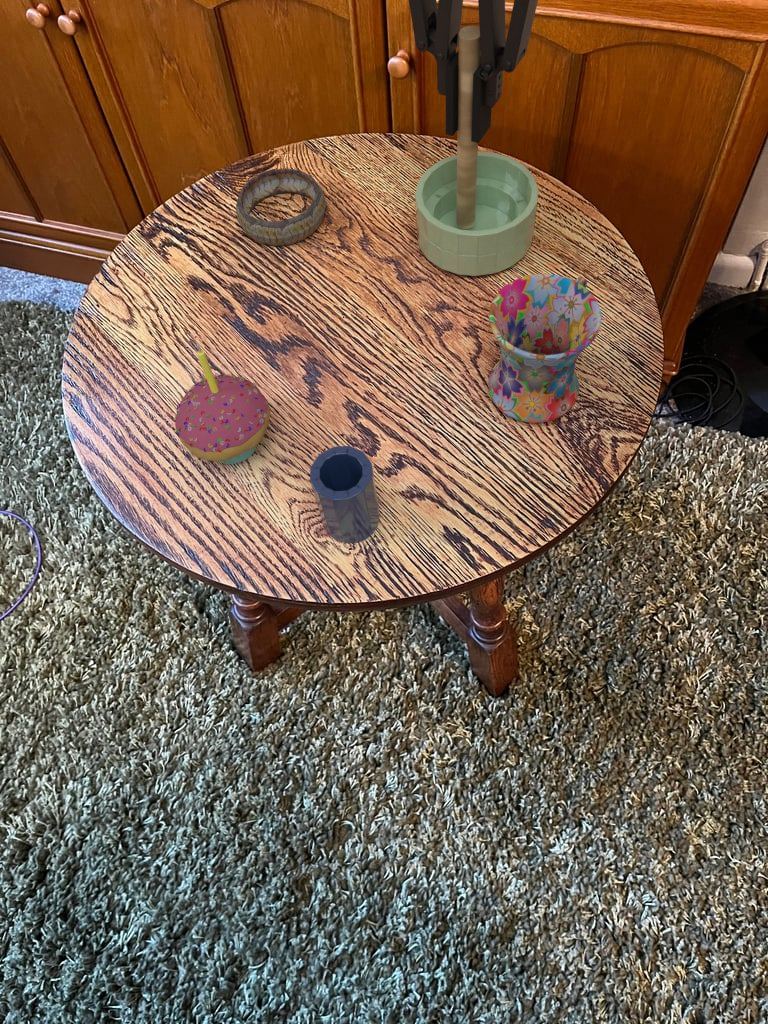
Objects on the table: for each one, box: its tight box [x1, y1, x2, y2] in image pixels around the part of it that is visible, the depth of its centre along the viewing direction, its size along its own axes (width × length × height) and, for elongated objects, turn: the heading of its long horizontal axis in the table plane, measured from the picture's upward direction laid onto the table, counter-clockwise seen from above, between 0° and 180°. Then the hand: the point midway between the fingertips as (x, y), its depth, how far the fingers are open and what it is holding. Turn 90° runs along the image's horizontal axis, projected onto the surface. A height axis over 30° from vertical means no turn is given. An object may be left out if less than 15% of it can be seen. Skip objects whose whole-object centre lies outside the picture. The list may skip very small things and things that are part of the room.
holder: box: [309, 445, 381, 544], centre depth 65 cm, size 5×5×8 cm
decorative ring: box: [235, 167, 327, 247], centre depth 86 cm, size 10×3×10 cm
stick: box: [456, 25, 481, 229], centre depth 74 cm, size 2×2×20 cm
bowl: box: [414, 150, 540, 277], centre depth 81 cm, size 12×12×6 cm
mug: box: [487, 273, 602, 424], centre depth 69 cm, size 12×9×11 cm
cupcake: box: [174, 342, 272, 465], centre depth 68 cm, size 9×8×12 cm
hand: (468, 129), depth 73 cm, fingers closed on stick, 2 cm apart
